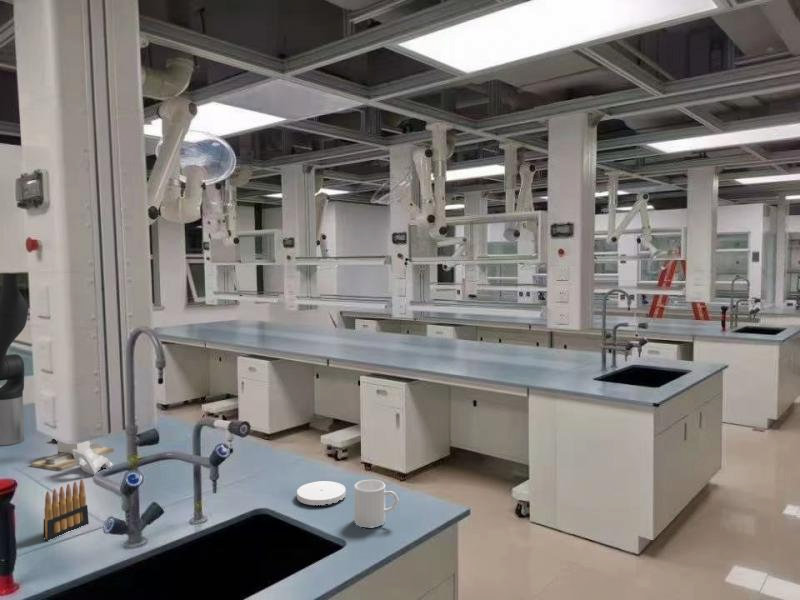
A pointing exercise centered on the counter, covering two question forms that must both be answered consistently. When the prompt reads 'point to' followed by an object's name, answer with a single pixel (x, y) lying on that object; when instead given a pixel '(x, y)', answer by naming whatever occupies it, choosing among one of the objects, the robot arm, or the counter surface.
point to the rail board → (66, 463)
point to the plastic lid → (321, 493)
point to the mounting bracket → (90, 461)
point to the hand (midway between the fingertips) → (71, 405)
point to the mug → (371, 502)
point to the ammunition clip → (65, 511)
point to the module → (72, 447)
